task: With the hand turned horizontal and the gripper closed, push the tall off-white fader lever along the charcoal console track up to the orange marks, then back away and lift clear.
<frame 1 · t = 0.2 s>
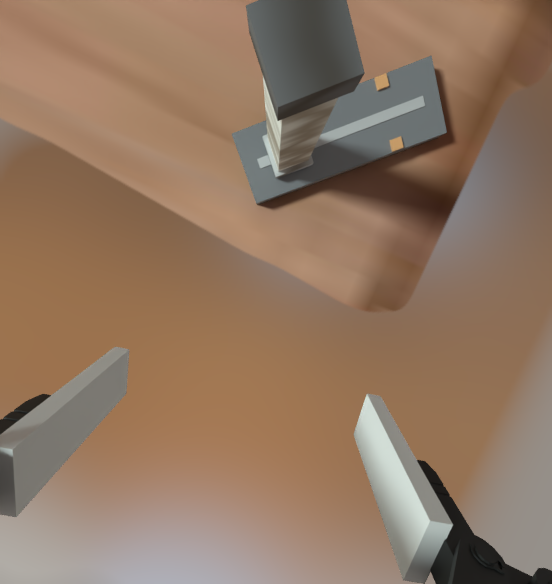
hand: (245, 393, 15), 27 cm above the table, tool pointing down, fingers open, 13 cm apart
fader lever: (293, 119, 25), point 13 cm above the table, slide at 0.0 cm
fader console: (336, 138, 37), on the table
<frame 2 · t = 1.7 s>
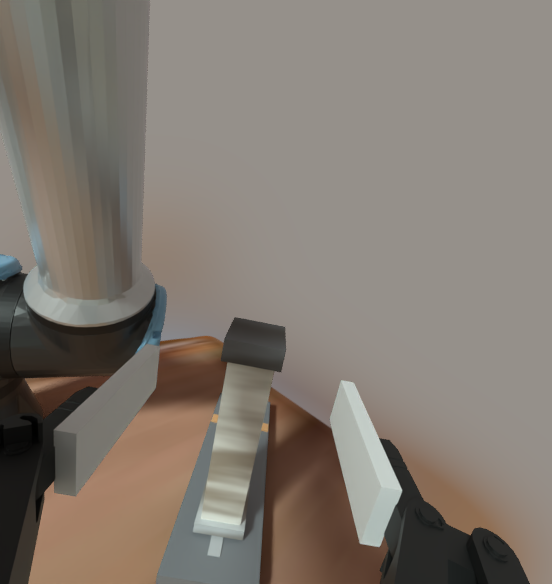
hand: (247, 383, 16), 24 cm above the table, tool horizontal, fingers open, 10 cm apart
fader lever: (238, 430, 27), point 13 cm above the table, slide at 0.0 cm
fader console: (230, 470, 37), on the table
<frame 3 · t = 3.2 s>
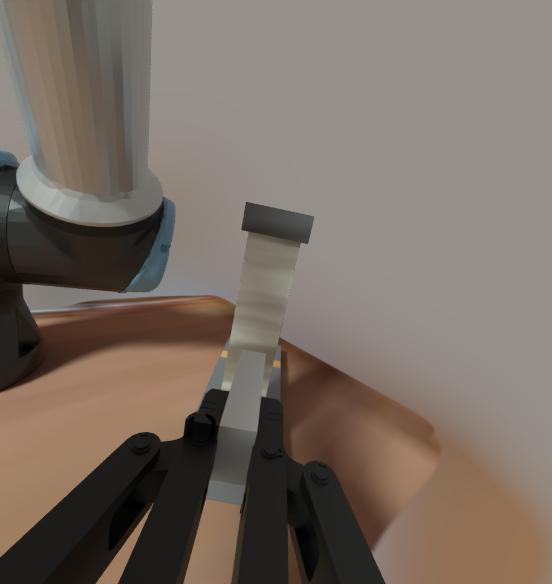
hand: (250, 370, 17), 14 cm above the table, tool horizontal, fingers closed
fader lever: (256, 329, 25), point 13 cm above the table, slide at 0.0 cm
fader console: (242, 399, 35), on the table
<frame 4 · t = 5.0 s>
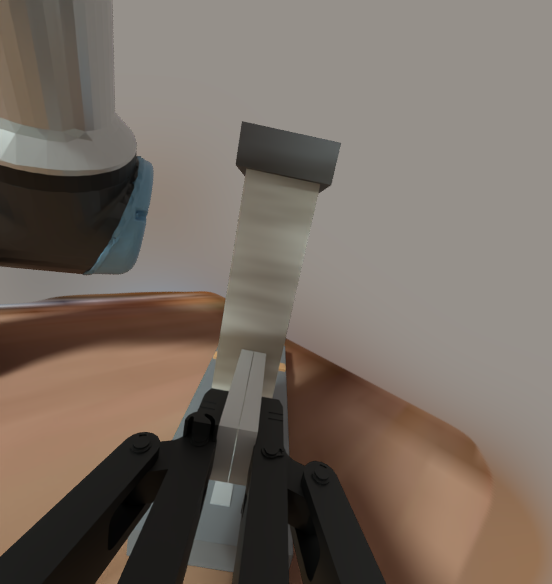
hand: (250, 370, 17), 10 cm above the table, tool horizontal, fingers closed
fader lever: (257, 314, 19), point 13 cm above the table, slide at 0.8 cm, touching gripper
fader console: (239, 411, 28), on the table
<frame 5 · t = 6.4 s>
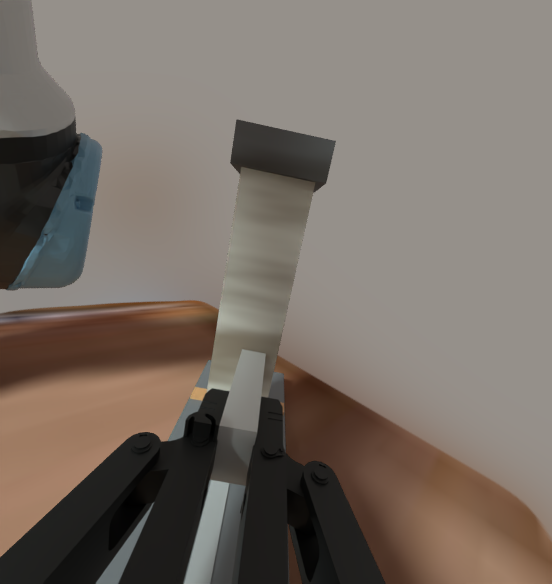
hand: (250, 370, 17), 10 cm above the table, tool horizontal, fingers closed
fader lever: (253, 313, 19), point 13 cm above the table, slide at 8.5 cm, touching gripper
fader console: (221, 480, 20), on the table
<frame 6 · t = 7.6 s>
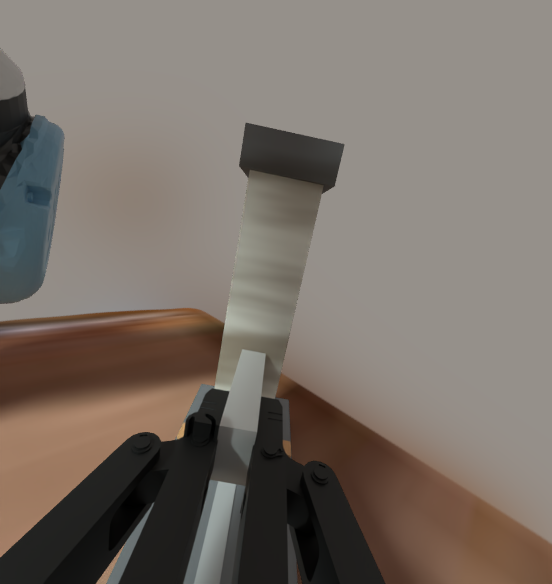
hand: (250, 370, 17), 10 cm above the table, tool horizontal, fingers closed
fader lever: (260, 315, 19), point 13 cm above the table, slide at 13.2 cm, touching gripper
fader console: (212, 556, 16), on the table
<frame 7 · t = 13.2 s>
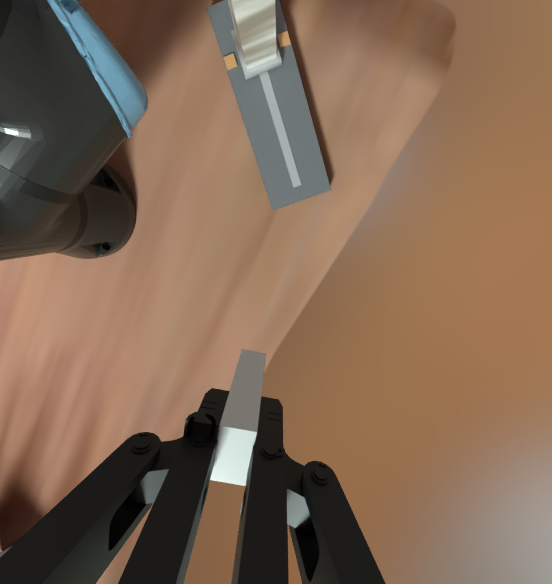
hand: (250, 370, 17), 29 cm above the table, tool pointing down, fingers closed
fader console: (273, 110, 40), on the table
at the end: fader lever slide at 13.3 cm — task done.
